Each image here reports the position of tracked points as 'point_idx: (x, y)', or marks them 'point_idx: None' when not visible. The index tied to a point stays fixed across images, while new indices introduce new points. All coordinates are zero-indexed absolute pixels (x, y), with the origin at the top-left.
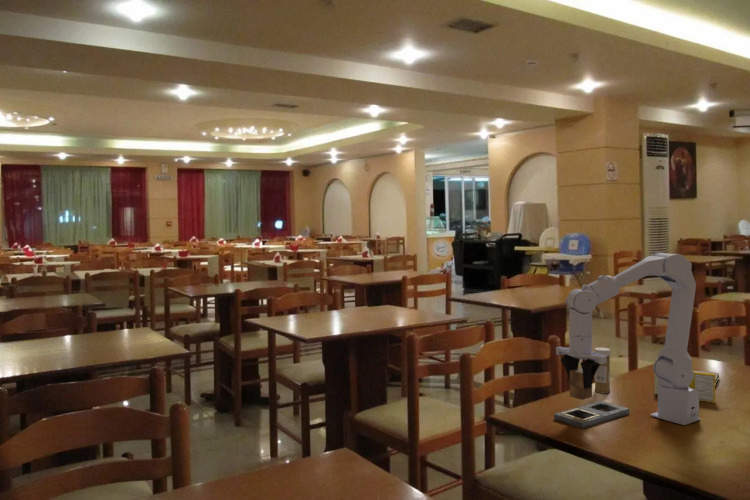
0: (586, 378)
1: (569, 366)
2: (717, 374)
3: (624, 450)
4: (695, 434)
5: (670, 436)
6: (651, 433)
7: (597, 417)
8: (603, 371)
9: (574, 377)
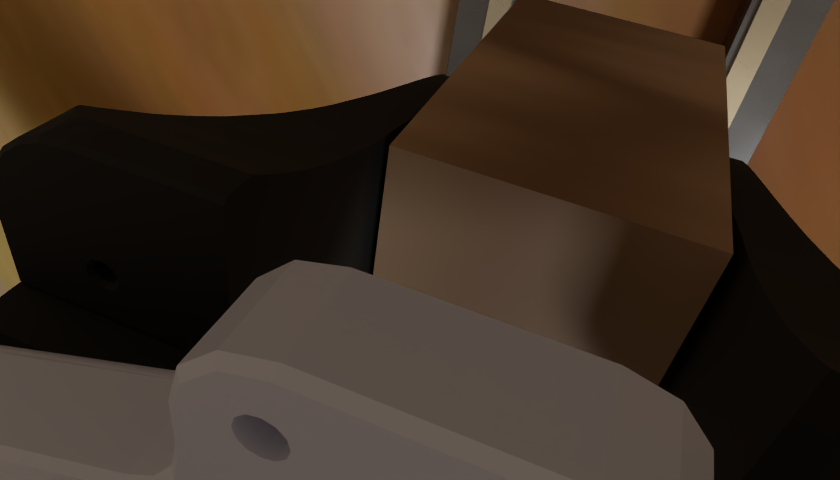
0: (349, 102)
1: (749, 322)
2: None
3: None
4: None
5: (82, 76)
6: (155, 60)
7: (462, 51)
8: None
9: (611, 145)
